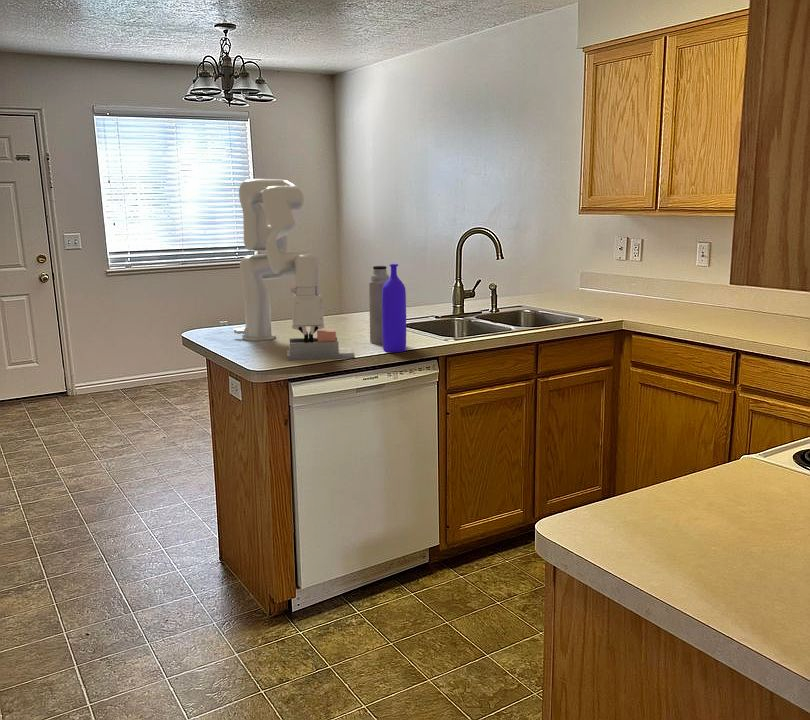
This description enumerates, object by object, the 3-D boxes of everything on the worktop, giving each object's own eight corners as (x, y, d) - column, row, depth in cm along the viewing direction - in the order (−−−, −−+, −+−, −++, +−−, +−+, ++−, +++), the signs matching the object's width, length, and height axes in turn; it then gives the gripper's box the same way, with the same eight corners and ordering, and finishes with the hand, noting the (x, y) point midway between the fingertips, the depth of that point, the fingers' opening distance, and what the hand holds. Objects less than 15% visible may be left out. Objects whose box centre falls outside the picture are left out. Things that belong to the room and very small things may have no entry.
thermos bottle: (377, 339, 280) (376, 264, 274) (395, 341, 276) (394, 265, 270) (365, 342, 274) (364, 266, 268) (384, 344, 270) (383, 267, 264)
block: (318, 352, 248) (317, 332, 247) (317, 349, 254) (317, 329, 252) (336, 352, 249) (335, 331, 248) (335, 348, 255) (334, 328, 253)
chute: (287, 360, 245) (286, 343, 244) (287, 354, 255) (286, 338, 254) (353, 357, 248) (353, 341, 247) (351, 351, 258) (351, 336, 257)
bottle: (377, 350, 260) (376, 264, 254) (394, 347, 266) (394, 262, 259) (394, 353, 254) (393, 265, 248) (411, 350, 260) (410, 264, 253)
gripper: (283, 293, 242) (286, 348, 246) (330, 292, 244) (331, 347, 248) (284, 290, 249) (286, 344, 253) (329, 289, 251) (330, 343, 255)
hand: (308, 345), depth 250 cm, fingers closed
